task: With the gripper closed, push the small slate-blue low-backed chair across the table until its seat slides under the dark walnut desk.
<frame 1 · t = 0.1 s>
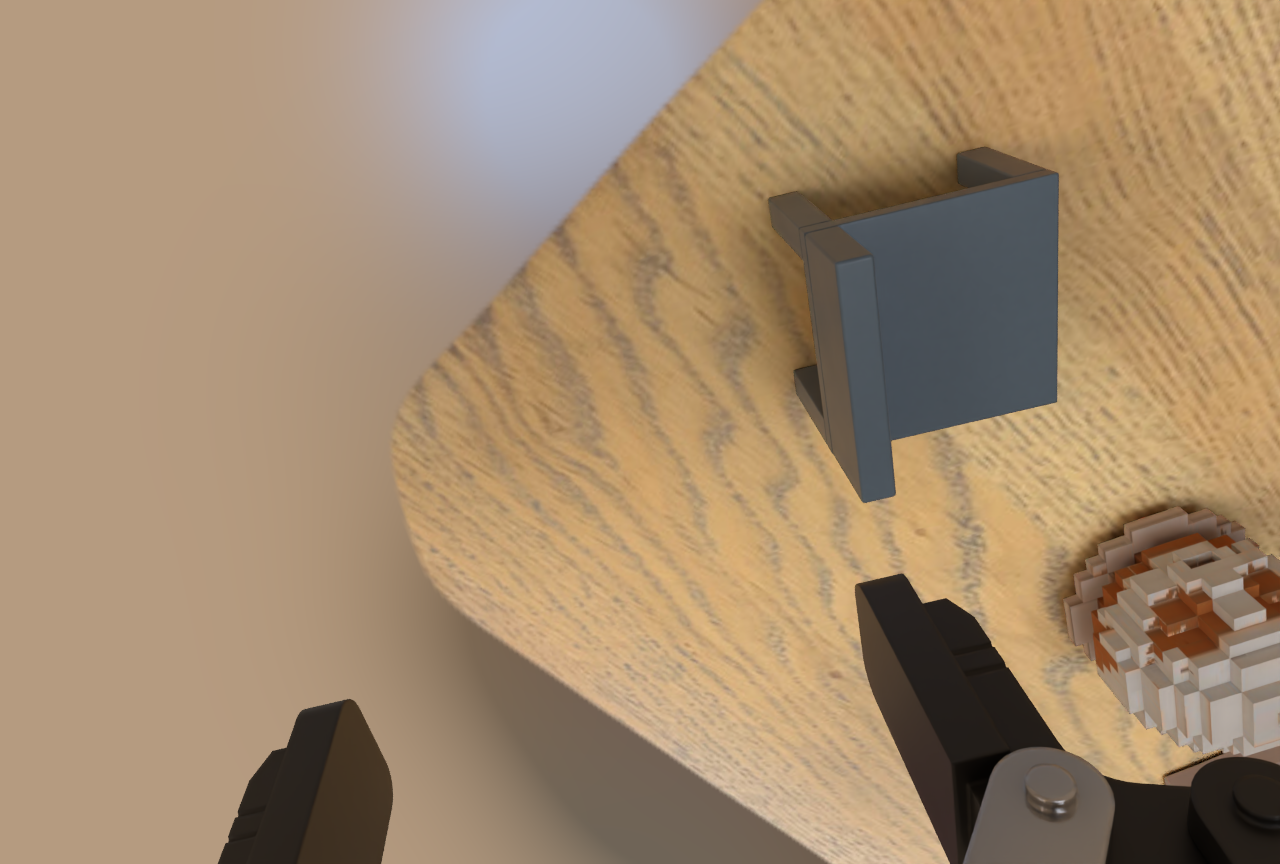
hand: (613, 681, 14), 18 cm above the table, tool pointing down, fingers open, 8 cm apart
decorative ornament: (1146, 578, 37), on the table
chair: (885, 277, 30), on the table
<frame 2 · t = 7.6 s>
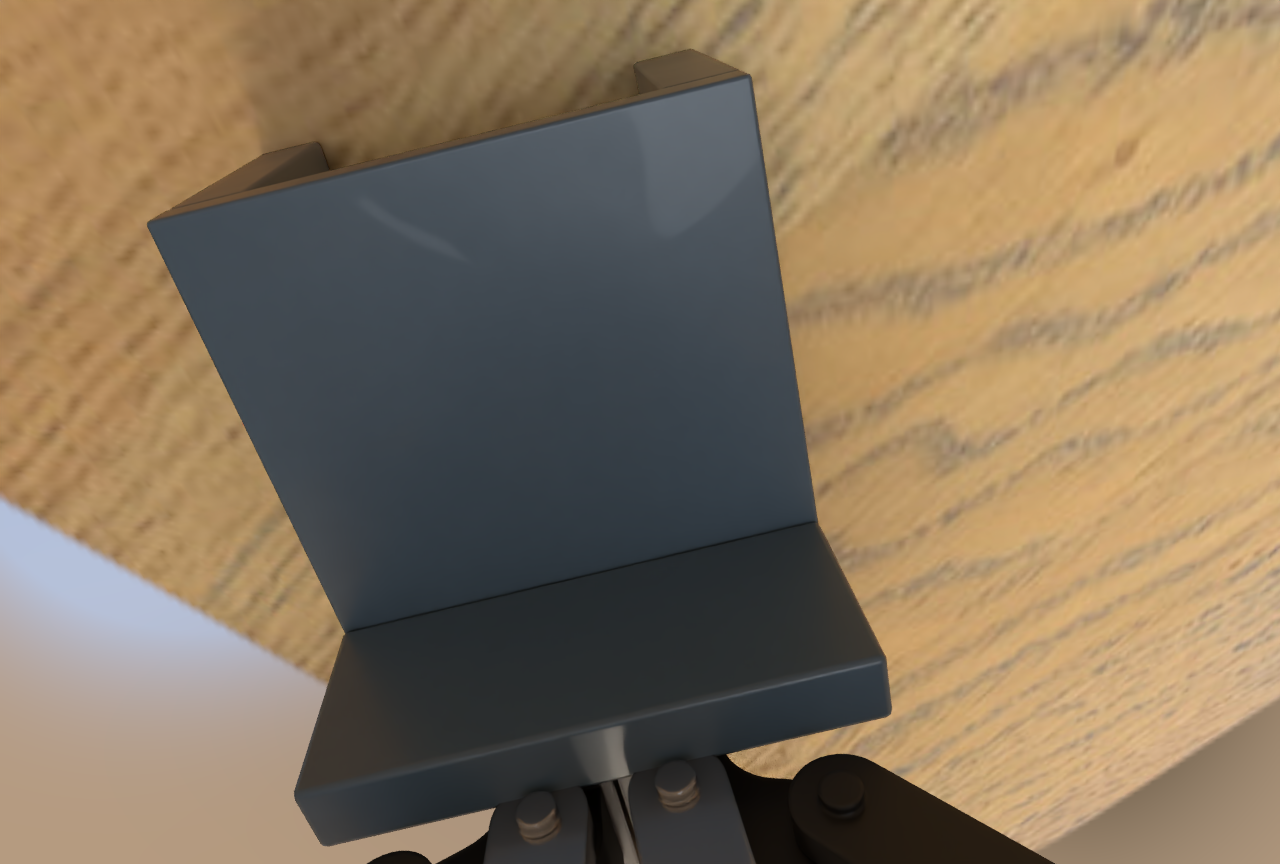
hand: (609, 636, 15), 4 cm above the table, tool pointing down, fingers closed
chair: (535, 308, 16), on the table, touching gripper
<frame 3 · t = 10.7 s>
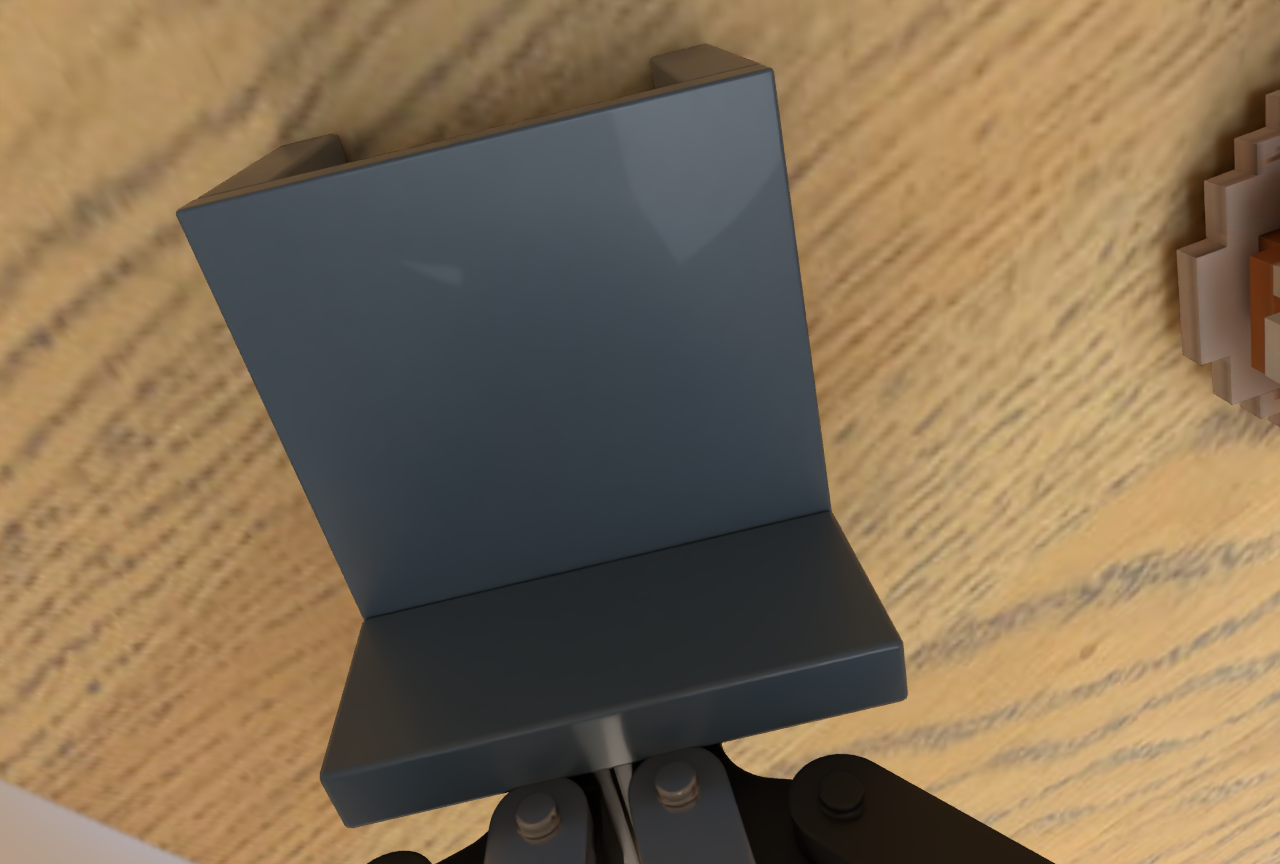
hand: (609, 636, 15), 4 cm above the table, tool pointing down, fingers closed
chair: (549, 300, 16), on the table, touching gripper
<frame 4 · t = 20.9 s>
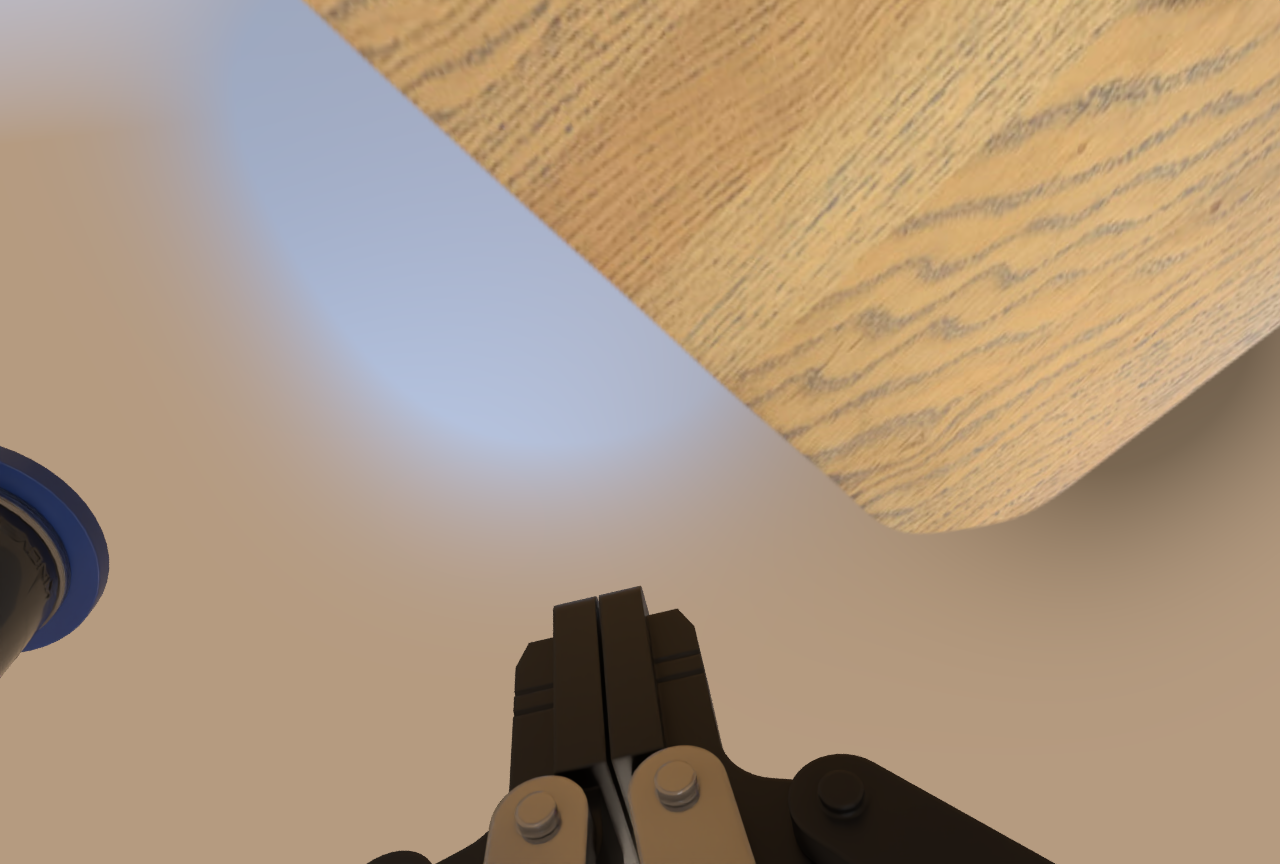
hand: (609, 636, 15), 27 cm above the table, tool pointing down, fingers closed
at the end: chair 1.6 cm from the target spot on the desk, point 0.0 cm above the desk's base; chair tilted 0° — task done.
